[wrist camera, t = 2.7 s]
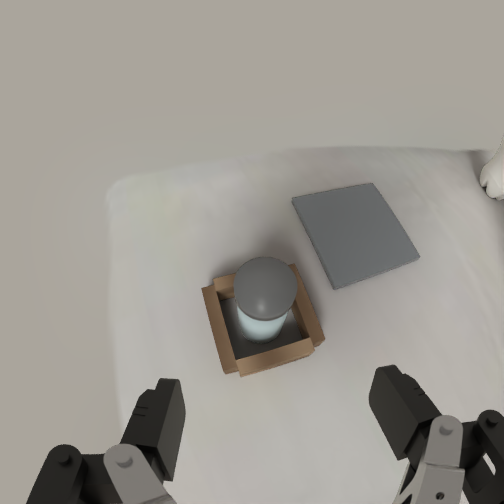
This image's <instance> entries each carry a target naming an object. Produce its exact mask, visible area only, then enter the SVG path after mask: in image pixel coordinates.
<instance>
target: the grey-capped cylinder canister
mask: <svg viewBox="0 0 504 504" xmlns="http://www.w3.org/2000/svg"><path fill="white" fill-rule="evenodd" d="M233 286H234V296H235V301H236V303H237V310H238V319H239V327H240V330H241V332H242V334H243V335H244V337H245V338H247V339H248V340H249V341H251V342H254V343H259V344H263V343H268V342H270V341H272V340H274V339H275V338H276V337H277V336H278V335H279V333H280V331H281V329H282V326H283V324H284V321H285V319H286V316H287V314H288V311H289V309H290V308H291V306H292V304H293V302H294V299H295V297H296V294H297V279H296V276H295V274H294V272H293V271H292V270H291V268H290V267H289V266H288V265H287V264H285V263H284V262H282V261H280V260H278V259H275V258H271V257H259V258H255V259H252V260H250V261H248V262H246V263H245V264H243V265H242V266H241V267H240V269H239V270H238V271H237V273H236V275H235V278H234V285H233Z"/></svg>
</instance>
